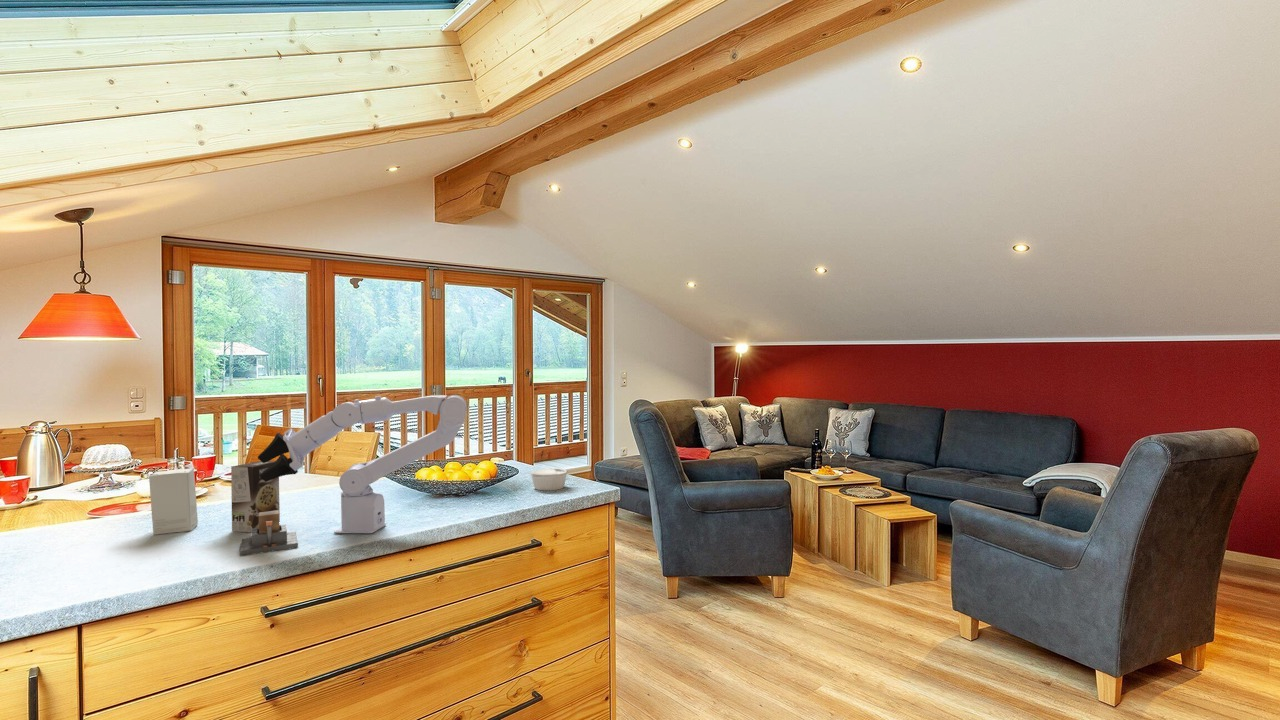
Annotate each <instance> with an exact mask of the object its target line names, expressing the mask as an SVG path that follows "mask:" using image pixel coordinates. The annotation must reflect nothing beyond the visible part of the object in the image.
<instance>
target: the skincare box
mask: <svg viewBox="0 0 1280 720" xmlns="http://www.w3.org/2000/svg"><path fill="white" fill-rule="evenodd" d="M194 468H195V467H194ZM194 468H193V467H192V468H191V467H190V468H182V469H172V470H163V471H162V470H161V471H159V470H158V471H155V472H154V473H152V474H151V475H149V476H148V479H149V480H148V481H149V492H150V493H149V494H150V495H149V496H150V506H151V507H150V508H151V519H152V520H151V521H152V534H153V535H162V534H164V535H165V534H171V533H181V532H189V531H190V532H191V531H192V530H193V529H195V528H196V527H198V525H199V519H198V506H197V505H198V504H197V491H196V490H197V489H196V478H195V469H194Z"/></svg>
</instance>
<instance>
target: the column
mask: <svg viewBox="0 0 1280 720" xmlns="http://www.w3.org/2000/svg"><path fill="white" fill-rule="evenodd" d="M266 521H272V525H271V532H276V531H280V527H279V525H280V523H279V510H276V511H267V512H259V534H260V533H267V526H266Z"/></svg>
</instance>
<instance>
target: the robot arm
mask: <svg viewBox="0 0 1280 720" xmlns="http://www.w3.org/2000/svg"><path fill="white" fill-rule="evenodd" d="M353 401H354V402H352V401H347V402H342V403H340V404H338V405H337V406H335V408H334V409H333V410H332V411H329V412H327V413H326V414H325V415H322V416H320V417H318V418H317V419H315V420H314V421H312V422H311V423H309V424H308V425H307V424H306V426H304V427H303V428H301V429H299V430H298V431H295V430H294V429H293V428H289V429H288V430H286V431H284V432H283V434H282V433H281V432H277V433H276V434H275V436H274V438H273V439H272V441H271V442H270V443H269V444H268V446H266V448H265V449H264V450H263V451H262V452H261V453H259V455H258V456H257V459H258V461H262V462H263V463H265V462H268V461H273V459H276V458H277V459H276V460H274V461H275V462H274V463H273V464H272V465H271V466H270V467H269V468H267V469H266V470H265V471H263V472H262V473H261V474H260V478H261V479H263V480H264V481H265V482H267V481H269V480H272V479H275V478H278V477H279V478H280V477H283V476H289V475H291V476H292V475H296V474H298V472H299V471H298V470H300V469H301V468H302V467H303V466H304V465H303V463H304V460H305V457H306V456H307V455H308V454H310V453H311V452H312V451H315V450H316V449H317V448H319V447H321V446H322V445H324V444H325V443H327V442H328V441H331V439H333V438H334V437H336V436H337V435H338V434H339V433H340V432H341V431H343V430H345V429H346V428H351V427H353V426H354V425H356V424H357V423H359V424H360V425H365V424H370V423H371V424H372V423H379V422H384V421H385V422H386V421H390V419H392V417H393V416H394V415H396V414H407V413H415V412H417V413H418V412H425V411H426V412H428V413H430V414H433V415H435V416H437V415H438V414H439V421H438V424H437V427H436V430H433V431H431V432H428V433H427V434H425V435H423V436H421V437H418V438H417V439H414V440H412V441H410V442H409V443H407V444H404V445H402V446H400V447H398V448H396V449H394V450H392V451H389V452H388V453H386V454H383V455H382V456H379V457H377V458H374V459H371V460H369V461H367V462H358V463H355V464H352V465H351V466H350V467H349V468H348V469H347V470H346V471H344V472H343V473H342V474H341V475H340V477H339V483H338V484H339V488H340V489H341V492H340V499H341V500H340V509H341V511H340V513H341V519H340V521H341V527H340V528H337V529H336V530H334V532H333V534H373V533H375V532H377V531H379V530H380V529H382V528H384V527H385V526H387V523H386V522H385V521H386V519H385V518H386V517H385V512H386V510H385V508H386V507H385V497H384V495H383V494H382V493H376V492H374V488H372V487H371V484H374V483H375V482H377V481H378V480H380V479H382V478H383V477H384V476H386V475H388V474H391V473H393V472H394V471H397V470H399V469H401V468H403V467H406V466H407V465H409V464H411V463H413V462H415V461H417V460H419V459H422V458H423V457H425V456H428V455H430V454H432V453H433V452H436V451H437V450H440V449H442V448H444V447H446V446H448V445H450V444H451V443H452V442H453V441H454V439H455V438H456V436H457V434H458V433H459V432H460V429H461V427H462V426H463V424H464V422H465V421H466V416H467V410H468V403H467V401H466V399H465V398H464V397H463V396H461V395H458V394H452V395H448V394H445V395H444V394H442V395H440V394H439V395H425V396H420V397H413V398H408V399H402V400H396V401H392V400H390V399H389V398H388V397H387V396H386V397H382V395H376V396H374V398H371V399H365V400H360V399H359V398H357V399H354V400H353ZM288 453H289V454H288ZM285 454H288V455H289V458H288V457H287V455H285Z"/></svg>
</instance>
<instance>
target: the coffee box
mask: <svg viewBox="0 0 1280 720" xmlns="http://www.w3.org/2000/svg"><path fill="white" fill-rule="evenodd" d="M275 461H276V460H270V461H268V462H265V463H263V462H262V461H260V460H258V461H252V462H248V463H244V464H243V463H242V464H238V465H233V466H231V468H230V469H231V470H230V471H231V473H230V474H231V481H230V483H231V485H230V486H231V492H230V493H231V532H237V533H239V532H240V533H252V529H253V528H259V512H267V511H276V510H279V522H280V523H281V520H280V518H281V514H280V513H281V512H280V511H281V510H280V506H281V505H280V477H278V478H275V479H272V480H269V481H267V482H265V481H264V480H263V479H261V478H260V474H261V473H262V472H263V471H265V470H266V469H267V468H269V467H270V466H271V465H272V464H273V463H274V462H275Z"/></svg>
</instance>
